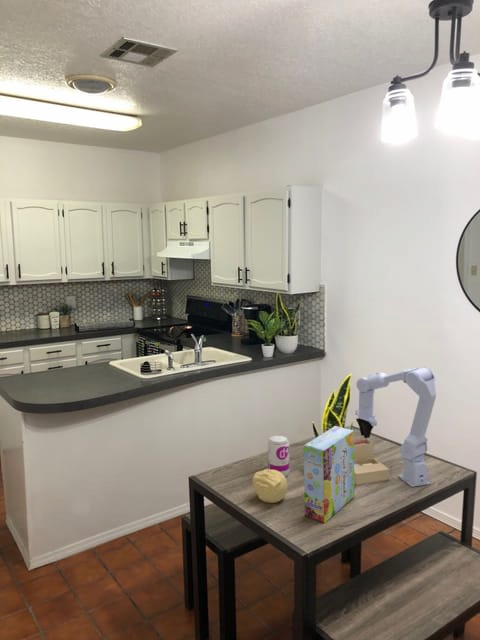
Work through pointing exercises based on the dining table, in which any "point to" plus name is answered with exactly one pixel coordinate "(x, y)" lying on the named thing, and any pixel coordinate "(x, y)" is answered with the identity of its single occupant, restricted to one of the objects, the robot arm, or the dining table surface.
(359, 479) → the carton
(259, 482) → the pale yellow round lump
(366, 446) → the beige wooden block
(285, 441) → the supplement can
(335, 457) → the snack box
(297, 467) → the dining table surface
